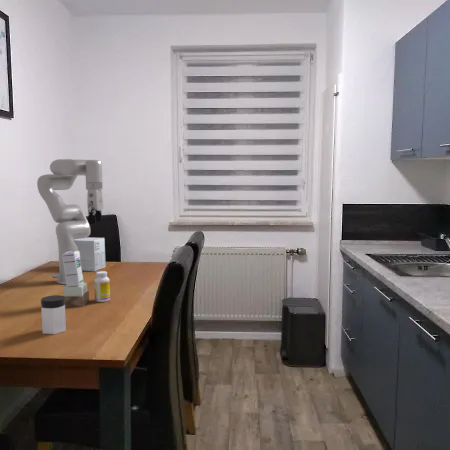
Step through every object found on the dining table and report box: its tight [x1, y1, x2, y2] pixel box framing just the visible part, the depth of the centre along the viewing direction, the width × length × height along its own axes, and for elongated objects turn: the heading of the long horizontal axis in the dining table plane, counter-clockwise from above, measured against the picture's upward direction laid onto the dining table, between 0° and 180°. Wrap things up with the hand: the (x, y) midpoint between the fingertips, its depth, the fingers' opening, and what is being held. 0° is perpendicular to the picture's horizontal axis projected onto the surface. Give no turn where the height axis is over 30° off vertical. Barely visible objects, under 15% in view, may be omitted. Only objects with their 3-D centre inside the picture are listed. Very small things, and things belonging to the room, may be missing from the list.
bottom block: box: [64, 290, 90, 307], centre depth 200 cm, size 9×9×4 cm
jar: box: [40, 294, 67, 335], centre depth 166 cm, size 9×8×12 cm
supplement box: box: [73, 237, 106, 272], centre depth 272 cm, size 17×13×18 cm
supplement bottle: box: [93, 270, 111, 303], centre depth 205 cm, size 7×7×13 cm
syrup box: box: [62, 251, 85, 286], centre depth 199 cm, size 6×6×14 cm
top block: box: [62, 282, 88, 296], centre depth 200 cm, size 8×8×4 cm
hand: (95, 222), depth 218 cm, fingers open, 9 cm apart
